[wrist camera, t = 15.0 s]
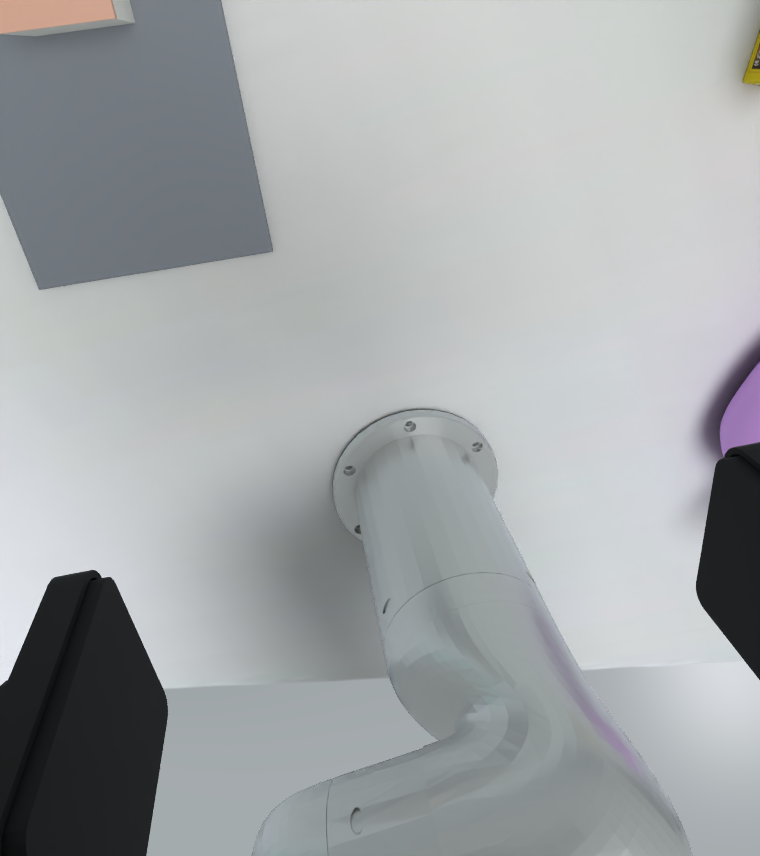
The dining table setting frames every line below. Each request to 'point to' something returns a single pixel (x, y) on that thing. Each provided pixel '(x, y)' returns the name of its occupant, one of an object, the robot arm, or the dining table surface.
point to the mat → (128, 147)
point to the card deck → (61, 16)
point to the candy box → (754, 66)
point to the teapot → (742, 414)
